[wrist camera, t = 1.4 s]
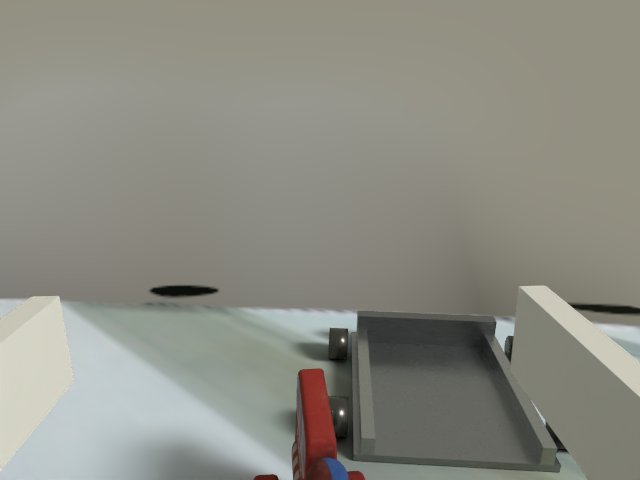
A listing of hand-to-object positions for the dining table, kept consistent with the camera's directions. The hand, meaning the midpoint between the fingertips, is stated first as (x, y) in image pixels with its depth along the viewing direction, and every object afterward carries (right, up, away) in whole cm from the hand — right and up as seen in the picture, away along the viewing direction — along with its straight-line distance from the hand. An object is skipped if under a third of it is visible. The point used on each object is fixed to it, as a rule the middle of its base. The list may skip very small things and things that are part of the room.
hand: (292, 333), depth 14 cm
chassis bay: (+11, -11, +30) cm, 34 cm away
